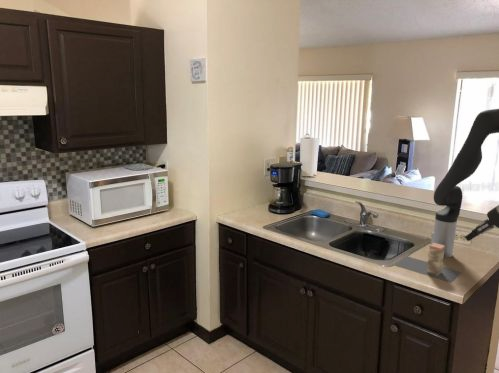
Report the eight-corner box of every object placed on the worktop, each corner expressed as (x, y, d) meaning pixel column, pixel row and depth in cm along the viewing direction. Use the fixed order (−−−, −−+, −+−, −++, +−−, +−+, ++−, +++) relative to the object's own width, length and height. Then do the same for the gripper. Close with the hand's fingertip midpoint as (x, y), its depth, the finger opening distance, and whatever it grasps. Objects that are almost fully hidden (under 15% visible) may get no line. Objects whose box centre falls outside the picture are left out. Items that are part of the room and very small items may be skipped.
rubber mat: (393, 266, 182) (393, 265, 182) (406, 257, 192) (406, 256, 192) (451, 284, 166) (451, 282, 166) (462, 273, 176) (462, 271, 176)
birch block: (426, 272, 175) (429, 245, 172) (430, 269, 178) (433, 242, 176) (437, 275, 172) (441, 248, 169) (441, 272, 175) (444, 245, 173)
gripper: (503, 203, 159) (466, 228, 170) (491, 208, 150) (453, 234, 161) (517, 219, 156) (479, 243, 167) (506, 224, 147) (467, 250, 158)
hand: (466, 238), depth 164 cm, fingers closed
